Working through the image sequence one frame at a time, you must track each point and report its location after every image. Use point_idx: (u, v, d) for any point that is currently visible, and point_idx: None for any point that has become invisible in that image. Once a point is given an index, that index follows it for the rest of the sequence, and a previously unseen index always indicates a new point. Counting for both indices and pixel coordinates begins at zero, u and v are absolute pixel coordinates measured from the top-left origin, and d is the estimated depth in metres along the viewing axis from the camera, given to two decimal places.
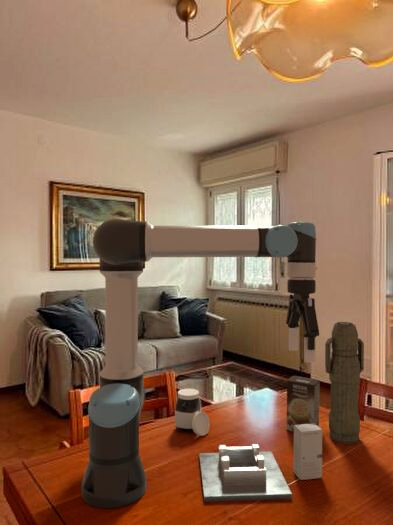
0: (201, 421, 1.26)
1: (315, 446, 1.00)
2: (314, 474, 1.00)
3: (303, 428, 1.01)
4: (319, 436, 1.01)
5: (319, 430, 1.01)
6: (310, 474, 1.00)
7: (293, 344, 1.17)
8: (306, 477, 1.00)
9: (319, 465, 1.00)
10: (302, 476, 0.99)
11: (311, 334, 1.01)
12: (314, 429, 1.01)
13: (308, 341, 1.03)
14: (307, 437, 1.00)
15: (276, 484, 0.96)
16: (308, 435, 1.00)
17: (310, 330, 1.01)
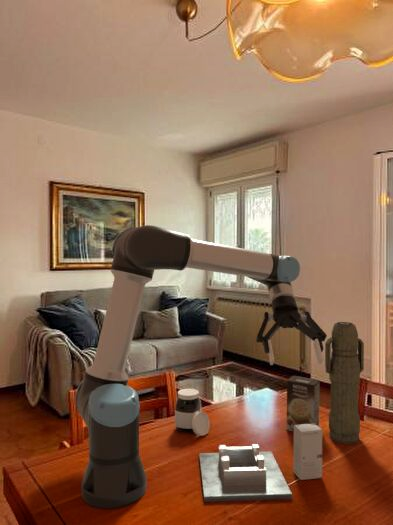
0: (201, 421, 1.26)
1: (314, 446, 1.00)
2: (314, 474, 1.00)
3: (303, 427, 1.01)
4: (318, 436, 1.01)
5: (318, 430, 1.01)
6: (310, 474, 1.00)
7: None
8: (306, 477, 1.00)
9: (319, 465, 1.00)
10: (302, 476, 0.99)
11: None
12: (314, 429, 1.01)
13: (319, 343, 1.15)
14: (307, 437, 1.00)
15: (276, 484, 0.96)
16: (308, 435, 1.00)
17: None
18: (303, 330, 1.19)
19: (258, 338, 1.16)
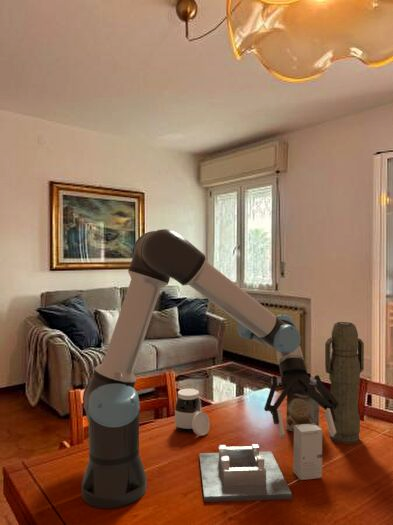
0: (201, 421, 1.26)
1: (315, 446, 1.00)
2: (314, 474, 1.00)
3: (303, 428, 1.01)
4: (318, 436, 1.01)
5: (319, 430, 1.01)
6: (310, 474, 1.00)
7: None
8: (306, 477, 1.00)
9: (319, 465, 1.00)
10: (302, 476, 0.99)
11: None
12: (314, 429, 1.01)
13: (331, 413, 1.09)
14: (307, 437, 1.00)
15: (276, 484, 0.96)
16: (308, 435, 1.00)
17: None
18: (313, 397, 1.13)
19: (267, 407, 1.09)
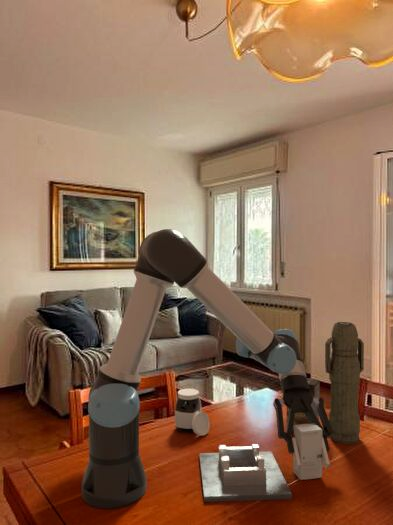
0: (201, 421, 1.26)
1: (314, 445, 1.00)
2: (314, 474, 1.00)
3: (303, 427, 1.01)
4: (318, 435, 1.01)
5: (318, 429, 1.01)
6: (310, 474, 1.00)
7: None
8: (306, 477, 1.00)
9: (319, 465, 1.00)
10: (302, 476, 0.99)
11: None
12: (314, 429, 1.01)
13: (324, 442, 1.02)
14: (307, 437, 1.00)
15: (276, 484, 0.96)
16: (308, 435, 1.00)
17: None
18: (311, 419, 1.07)
19: (282, 435, 1.03)
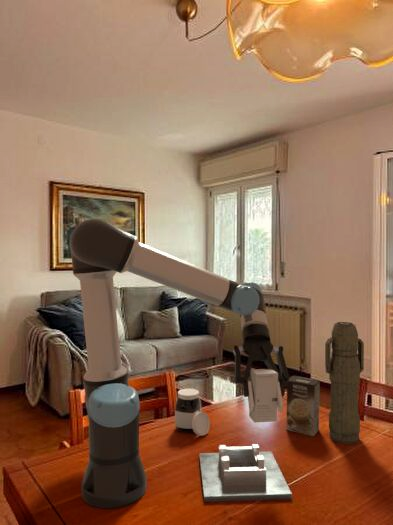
0: (201, 421, 1.26)
1: (270, 389, 1.00)
2: (268, 418, 0.99)
3: (259, 371, 1.01)
4: (274, 379, 1.00)
5: (274, 373, 1.00)
6: (264, 417, 0.99)
7: None
8: (260, 419, 0.99)
9: (274, 409, 1.00)
10: (256, 419, 0.99)
11: None
12: (270, 372, 1.00)
13: (280, 386, 1.01)
14: (262, 380, 0.99)
15: (276, 484, 0.96)
16: (263, 378, 0.99)
17: None
18: (269, 366, 1.06)
19: (238, 379, 1.02)
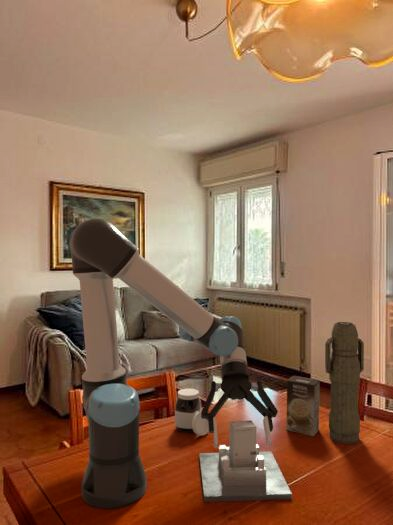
0: (201, 421, 1.26)
1: (248, 442, 0.99)
2: None
3: (237, 424, 1.01)
4: (252, 432, 1.00)
5: (252, 426, 1.00)
6: None
7: None
8: None
9: (253, 462, 0.99)
10: None
11: (277, 412, 1.04)
12: (248, 425, 1.00)
13: (269, 421, 1.02)
14: (240, 433, 0.99)
15: (276, 484, 0.96)
16: (241, 432, 0.99)
17: None
18: (253, 403, 1.06)
19: (202, 415, 1.03)
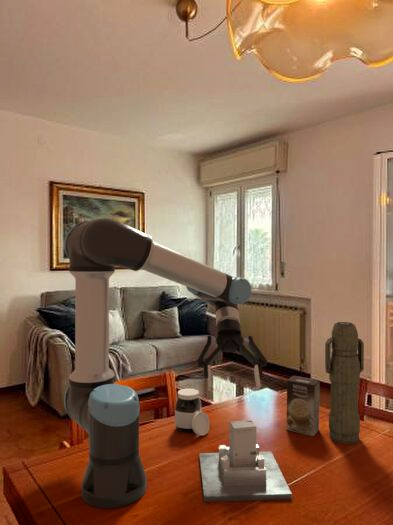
0: (201, 421, 1.26)
1: (248, 442, 0.99)
2: None
3: (237, 424, 1.01)
4: (252, 432, 1.00)
5: (252, 426, 1.00)
6: None
7: None
8: None
9: (253, 462, 0.99)
10: None
11: (266, 362, 1.17)
12: (248, 425, 1.00)
13: (259, 369, 1.15)
14: (240, 433, 0.99)
15: (276, 484, 0.96)
16: (241, 432, 0.99)
17: None
18: (245, 355, 1.19)
19: (198, 363, 1.16)
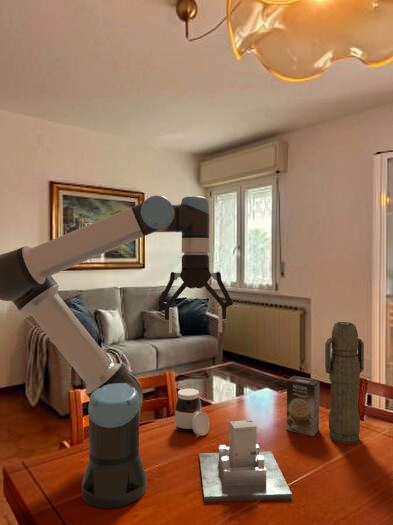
0: (201, 421, 1.26)
1: (248, 442, 0.99)
2: None
3: (237, 424, 1.01)
4: (252, 432, 1.00)
5: (252, 426, 1.00)
6: None
7: None
8: None
9: (253, 462, 0.99)
10: None
11: (232, 303, 1.10)
12: (248, 425, 1.00)
13: (223, 312, 1.10)
14: (240, 433, 0.99)
15: (276, 484, 0.96)
16: (241, 432, 0.99)
17: None
18: None
19: (159, 305, 1.09)
